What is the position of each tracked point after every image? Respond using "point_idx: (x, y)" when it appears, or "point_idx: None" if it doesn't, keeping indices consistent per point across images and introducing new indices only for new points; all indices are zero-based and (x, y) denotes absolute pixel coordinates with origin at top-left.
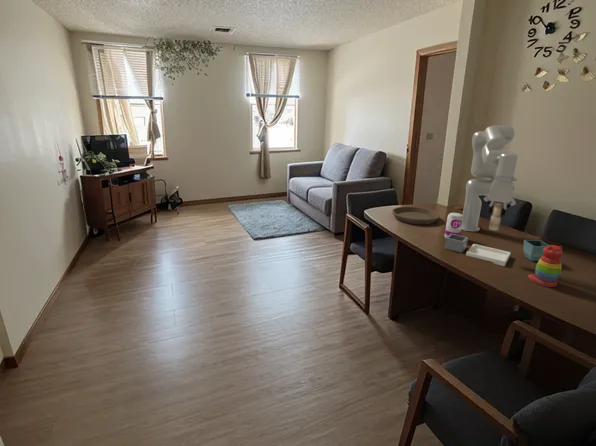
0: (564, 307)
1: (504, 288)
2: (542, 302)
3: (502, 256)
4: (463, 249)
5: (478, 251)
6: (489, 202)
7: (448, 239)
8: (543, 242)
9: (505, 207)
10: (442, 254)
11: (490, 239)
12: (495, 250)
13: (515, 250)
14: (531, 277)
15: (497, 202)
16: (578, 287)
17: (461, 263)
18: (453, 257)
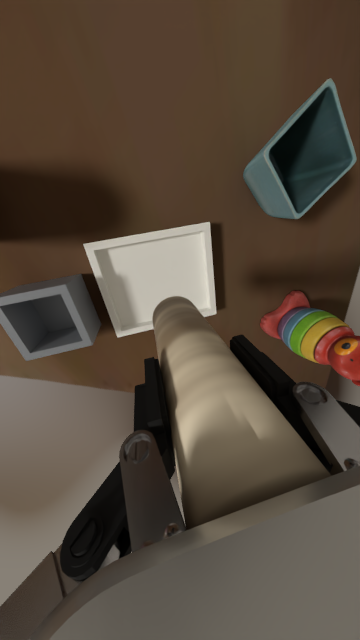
0: (305, 375)
1: None
2: None
3: (193, 258)
4: (93, 314)
5: (126, 279)
6: (128, 544)
7: (38, 356)
8: (338, 112)
9: (309, 441)
10: (73, 365)
11: (58, 9)
12: (164, 237)
13: (203, 121)
14: (269, 333)
15: None
16: (338, 289)
17: (136, 371)
18: (103, 359)
